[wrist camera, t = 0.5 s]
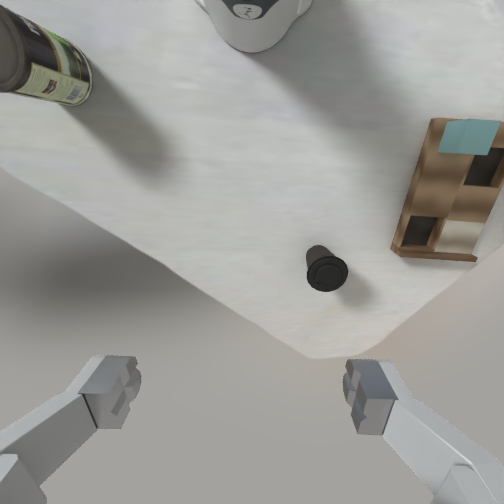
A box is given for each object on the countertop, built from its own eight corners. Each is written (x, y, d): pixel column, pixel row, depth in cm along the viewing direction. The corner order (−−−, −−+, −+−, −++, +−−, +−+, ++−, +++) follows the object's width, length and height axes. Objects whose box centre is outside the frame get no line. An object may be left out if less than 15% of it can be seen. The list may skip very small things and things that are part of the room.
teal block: (447, 121, 43) (469, 119, 39) (475, 123, 43) (501, 121, 39) (437, 152, 45) (457, 153, 41) (464, 154, 45) (487, 155, 41)
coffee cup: (293, 263, 58) (300, 285, 49) (310, 233, 55) (321, 251, 46) (323, 276, 59) (335, 300, 50) (342, 248, 56) (358, 268, 47)
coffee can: (36, 24, 41) (-65, -30, 29) (97, 54, 43) (28, 15, 30) (31, 91, 45) (-59, 69, 32) (88, 116, 47) (23, 105, 34)
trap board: (431, 119, 45) (447, 116, 42) (517, 125, 46) (541, 123, 42) (390, 248, 56) (400, 256, 52) (460, 253, 56) (475, 261, 52)
